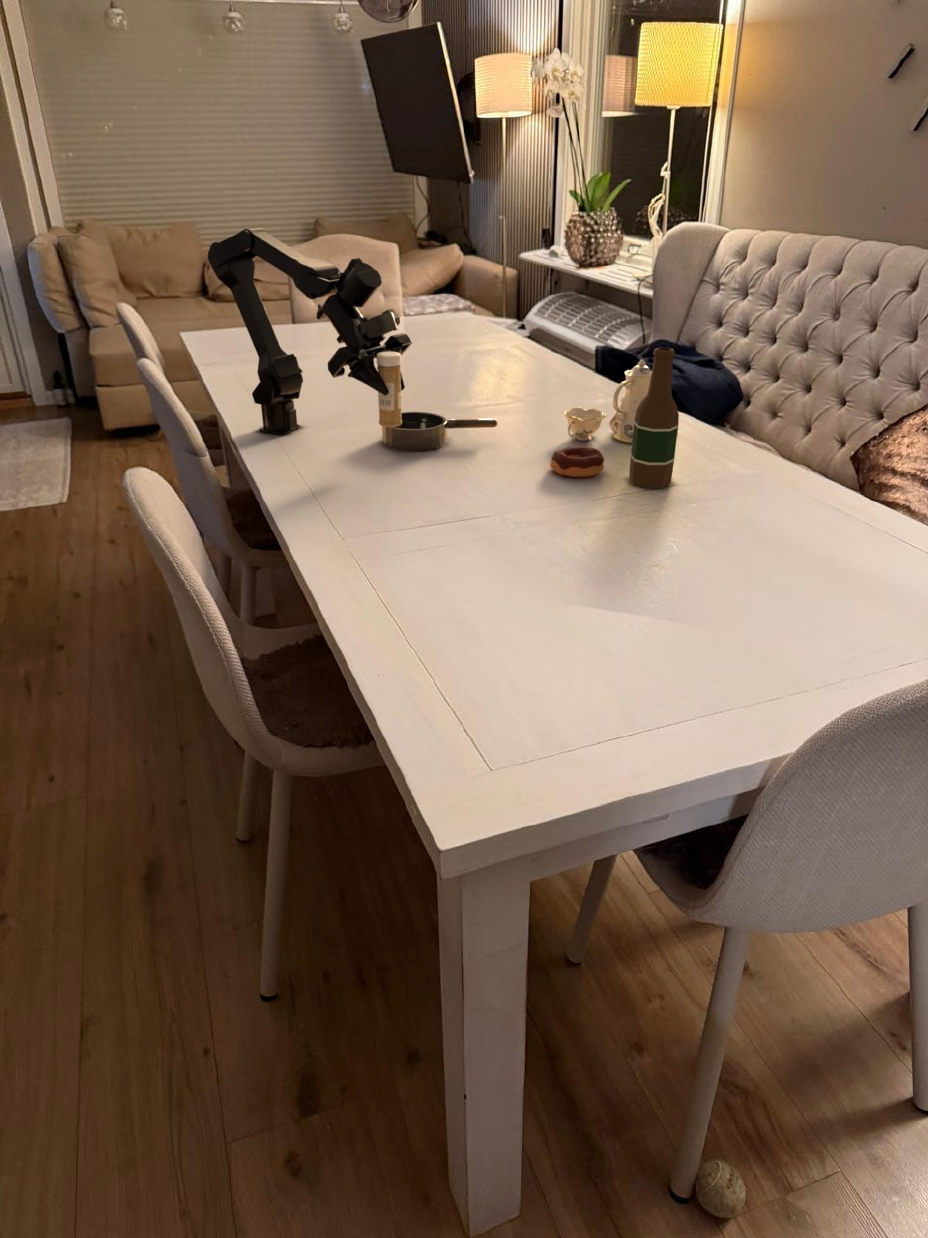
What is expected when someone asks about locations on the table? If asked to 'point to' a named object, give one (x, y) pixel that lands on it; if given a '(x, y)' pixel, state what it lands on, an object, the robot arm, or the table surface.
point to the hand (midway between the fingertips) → (395, 391)
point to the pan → (416, 432)
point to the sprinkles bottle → (390, 389)
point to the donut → (577, 461)
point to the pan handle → (471, 423)
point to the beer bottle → (655, 427)
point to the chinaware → (624, 418)
